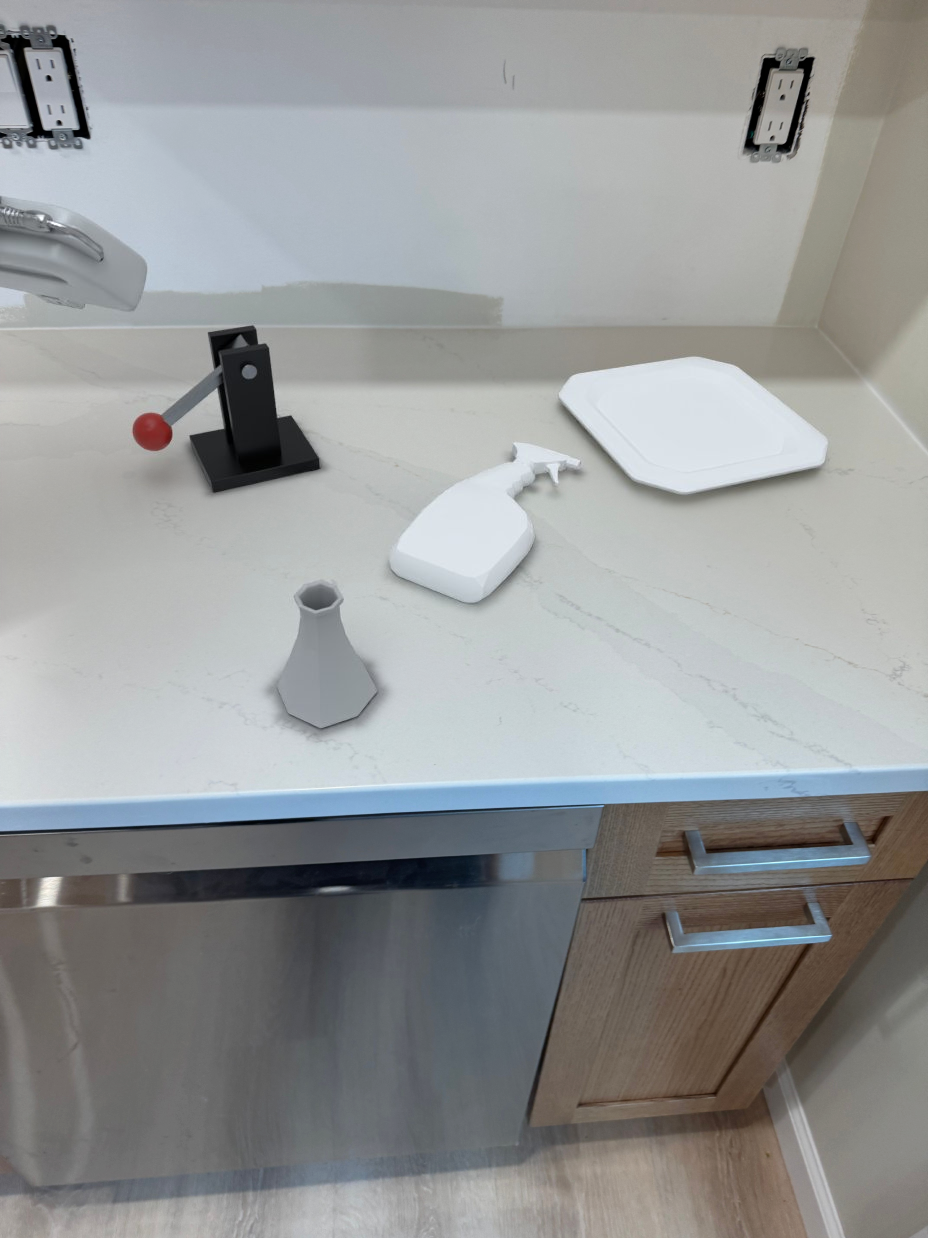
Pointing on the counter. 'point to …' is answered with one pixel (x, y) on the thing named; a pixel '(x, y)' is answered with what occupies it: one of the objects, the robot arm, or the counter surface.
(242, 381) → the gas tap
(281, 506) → the counter surface
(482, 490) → the spray bottle
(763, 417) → the plate
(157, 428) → the lever
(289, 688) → the flask
